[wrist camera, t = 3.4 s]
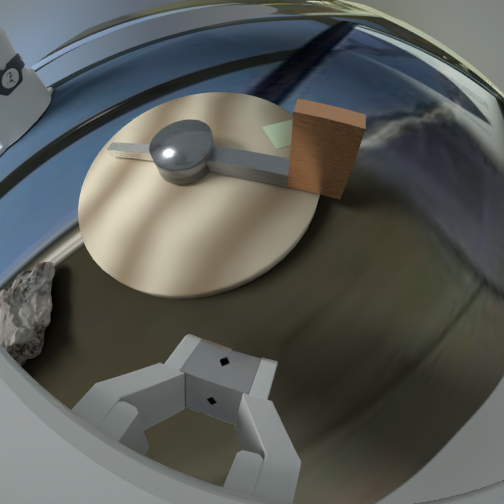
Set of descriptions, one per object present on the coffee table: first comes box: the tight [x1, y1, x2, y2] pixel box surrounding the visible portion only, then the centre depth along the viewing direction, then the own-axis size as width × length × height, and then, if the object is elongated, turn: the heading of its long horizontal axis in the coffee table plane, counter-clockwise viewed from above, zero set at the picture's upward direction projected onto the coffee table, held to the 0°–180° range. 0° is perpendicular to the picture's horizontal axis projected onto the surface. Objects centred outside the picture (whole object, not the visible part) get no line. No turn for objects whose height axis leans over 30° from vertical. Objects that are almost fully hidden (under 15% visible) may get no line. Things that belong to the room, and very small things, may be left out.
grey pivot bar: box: [107, 99, 366, 200], centre depth 18 cm, size 21×5×7 cm, turn 73°
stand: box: [78, 92, 320, 299], centre depth 22 cm, size 22×22×2 cm
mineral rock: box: [0, 262, 55, 366], centre depth 16 cm, size 15×8×4 cm, turn 128°
